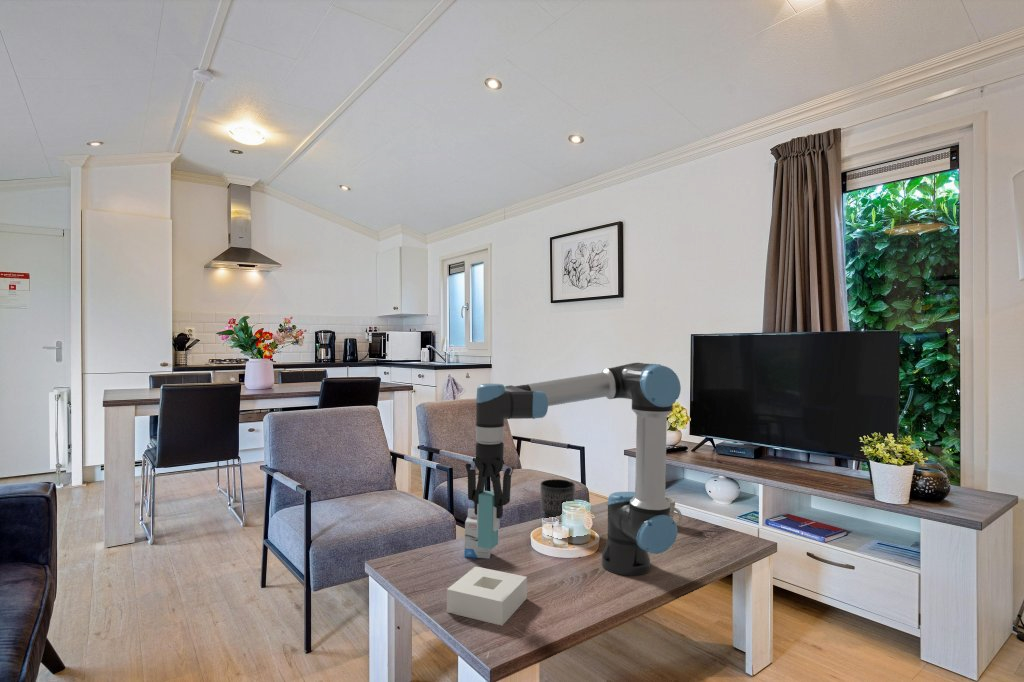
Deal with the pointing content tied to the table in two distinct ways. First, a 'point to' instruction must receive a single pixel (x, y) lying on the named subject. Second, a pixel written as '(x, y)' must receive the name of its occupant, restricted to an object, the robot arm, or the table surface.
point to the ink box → (473, 538)
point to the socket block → (487, 595)
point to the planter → (555, 496)
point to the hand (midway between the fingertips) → (488, 528)
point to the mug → (674, 509)
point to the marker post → (486, 521)
